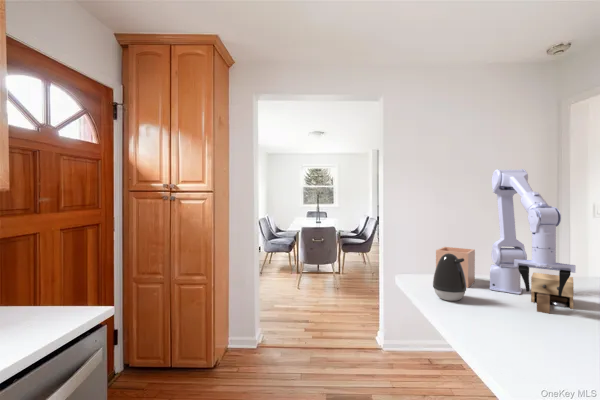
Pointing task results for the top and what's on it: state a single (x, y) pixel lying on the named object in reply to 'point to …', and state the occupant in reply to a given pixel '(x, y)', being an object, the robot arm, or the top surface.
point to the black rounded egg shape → (449, 278)
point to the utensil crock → (467, 264)
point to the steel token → (559, 303)
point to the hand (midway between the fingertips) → (543, 293)
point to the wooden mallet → (547, 301)
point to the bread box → (550, 286)
